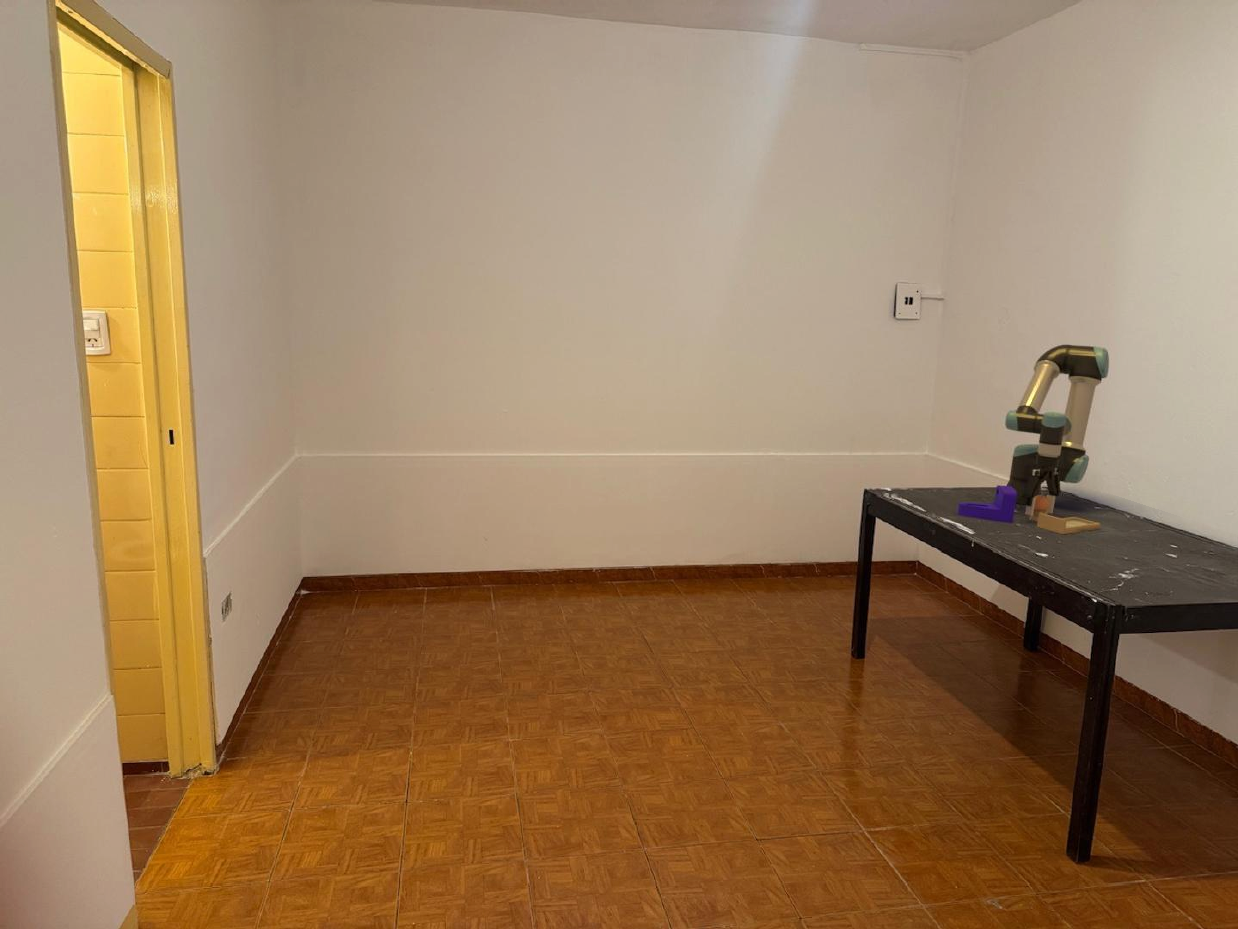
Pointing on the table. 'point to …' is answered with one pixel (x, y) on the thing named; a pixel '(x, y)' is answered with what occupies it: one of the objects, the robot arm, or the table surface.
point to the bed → (1065, 524)
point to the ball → (1041, 503)
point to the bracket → (993, 506)
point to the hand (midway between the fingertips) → (1038, 513)
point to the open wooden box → (1037, 515)
